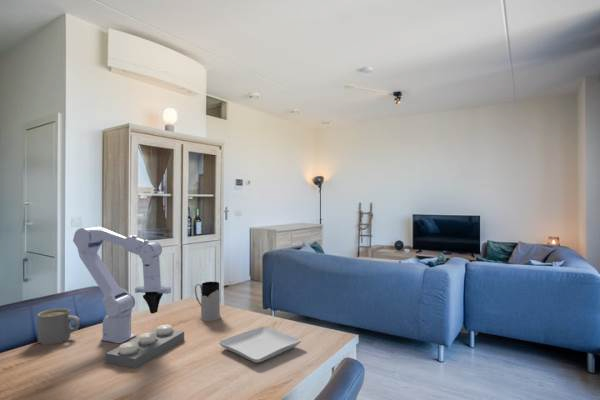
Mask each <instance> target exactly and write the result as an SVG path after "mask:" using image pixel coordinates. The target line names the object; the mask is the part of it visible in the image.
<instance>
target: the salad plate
mask: <svg viewBox="0 0 600 400" xmlns="http://www.w3.org/2000/svg"><path fill="white" fill-rule="evenodd" d="M301 342H302V339H301V338H297V337H295V336H292V335H289V334H287V333H284V332H281V331H279V330H275V329H272V328H270V327H267V326H259V327H257V328H253V329H249V330H246V331H244V332H241V333H239V334H235V335H232V336H229V337H227V338H224V339H222V340H221V339H220V340H219V341H218V344H219V345H220V346H221V347H223V348H224V349H226V350H228V351H229V352H233V353H235V354H237V355H239V356H241V357H243V358H244V359H245V358H246V359H247V360H249V361H251V362H253V363H256V364H257V363H262V362H264V361H267V360H269V359H271V358H274V357H276V356H278V355H280V354H283V353H284V351H285V352H286V351H288V350H291V349H293V348H295V347H297V346H299V345H300V343H301ZM282 352H283V353H282Z"/></svg>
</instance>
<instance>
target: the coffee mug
mask: <svg viewBox="0 0 600 400" xmlns="http://www.w3.org/2000/svg"><path fill="white" fill-rule="evenodd" d="M72 320H73V321H74V323H75V325H74V327H72V325H71V322H72ZM80 324H81V321H80V318H79V317H78V315H77V316H76V315H71V309H69V308H65V307H62V308H61V307H59V308H58V307H57V308H52V309H47V310H43V311H40V312H38V314H37V343H38V344H39V343H41V344H40V345H43V344H46V345H54V343H55V344H59V343H62V342H64V341H67V340H69V339H70V338H71V334H72V333H75V332H76V331H78V329H79V328H80Z"/></svg>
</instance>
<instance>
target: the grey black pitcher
mask: <svg viewBox="0 0 600 400" xmlns="http://www.w3.org/2000/svg"><path fill="white" fill-rule="evenodd" d="M197 286H199V287H200V293H201V296H200V297H201V302H200V300H199V298H198V293H197ZM194 294H195V299H196V301H197V302H198V304H199V306H200V307H201V308H200V309H201V310H200V313H201V315H200V318H199V320H200V321H204V322H214V321H218V320H220V319H221V317H222V316H221V313H220V312H221V311H220V309H221V308H220V307H221V306H220V305H221V304H220V303H221V302H220V300H221V299H220V298H221V295H220V282H219V281H205V282H202V283H201V284H200V283H197V284H196V285H195V286H194Z"/></svg>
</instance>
